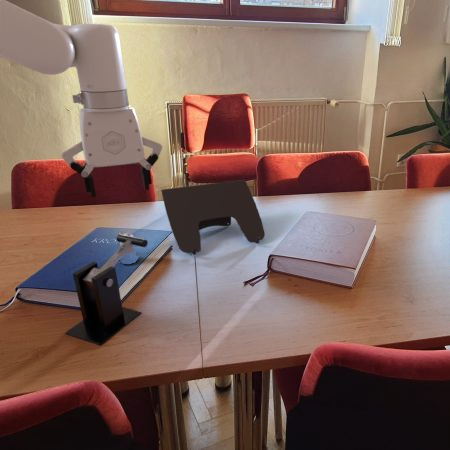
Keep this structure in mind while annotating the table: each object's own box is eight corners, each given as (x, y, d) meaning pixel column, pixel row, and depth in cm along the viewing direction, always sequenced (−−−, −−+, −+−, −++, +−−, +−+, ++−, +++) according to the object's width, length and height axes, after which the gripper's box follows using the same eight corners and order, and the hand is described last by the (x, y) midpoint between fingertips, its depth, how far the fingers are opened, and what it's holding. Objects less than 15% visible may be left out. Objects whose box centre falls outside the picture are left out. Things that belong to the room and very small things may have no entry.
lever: (124, 239, 85) (119, 230, 83) (149, 245, 83) (145, 236, 81) (80, 286, 76) (73, 277, 75) (107, 293, 74) (101, 284, 73)
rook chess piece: (141, 259, 103) (136, 228, 100) (138, 268, 99) (133, 236, 96) (121, 260, 102) (116, 229, 99) (117, 270, 98) (111, 237, 95)
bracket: (108, 307, 85) (98, 253, 80) (142, 317, 82) (133, 261, 78) (66, 338, 77) (51, 279, 72) (102, 350, 74) (89, 289, 69)
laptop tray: (178, 276, 107) (178, 253, 101) (161, 207, 120) (160, 183, 114) (267, 259, 116) (272, 237, 109) (242, 196, 129) (246, 173, 122)
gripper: (50, 106, 72) (71, 204, 79) (159, 100, 79) (170, 191, 86) (51, 100, 78) (70, 191, 85) (152, 95, 85) (162, 180, 92)
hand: (120, 191), depth 85 cm, fingers open, 9 cm apart
